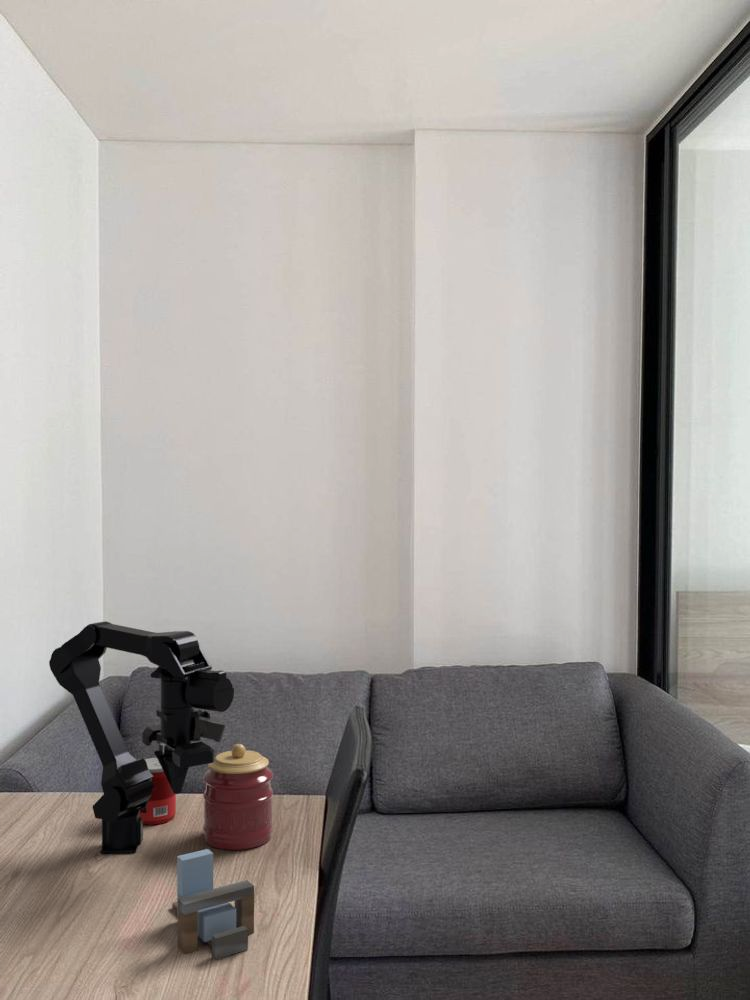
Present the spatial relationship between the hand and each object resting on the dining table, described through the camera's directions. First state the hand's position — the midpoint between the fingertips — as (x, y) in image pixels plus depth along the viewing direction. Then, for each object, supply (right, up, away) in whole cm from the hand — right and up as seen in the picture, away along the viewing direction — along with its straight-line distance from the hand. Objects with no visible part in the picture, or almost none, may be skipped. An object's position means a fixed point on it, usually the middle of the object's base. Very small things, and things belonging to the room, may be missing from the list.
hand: (177, 793), depth 163 cm
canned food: (-9, -12, +21) cm, 25 cm away
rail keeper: (+9, -13, -24) cm, 29 cm away
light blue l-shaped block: (+10, -12, -24) cm, 29 cm away
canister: (+9, -12, +11) cm, 19 cm away
